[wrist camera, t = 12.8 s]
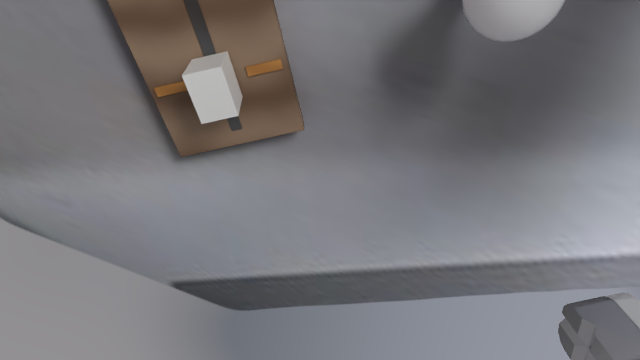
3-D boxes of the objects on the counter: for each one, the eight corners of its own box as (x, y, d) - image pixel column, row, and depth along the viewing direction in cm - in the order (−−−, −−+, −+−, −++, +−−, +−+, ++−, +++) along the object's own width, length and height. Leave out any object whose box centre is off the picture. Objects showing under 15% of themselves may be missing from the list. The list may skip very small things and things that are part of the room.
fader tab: (191, 59, 32) (181, 75, 29) (227, 51, 32) (221, 66, 29) (209, 104, 34) (201, 124, 31) (242, 96, 34) (238, 115, 31)
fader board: (32, -190, 25) (12, -198, 23) (214, -238, 24) (209, -250, 23) (185, 146, 39) (180, 158, 37) (303, 120, 38) (304, 130, 37)
